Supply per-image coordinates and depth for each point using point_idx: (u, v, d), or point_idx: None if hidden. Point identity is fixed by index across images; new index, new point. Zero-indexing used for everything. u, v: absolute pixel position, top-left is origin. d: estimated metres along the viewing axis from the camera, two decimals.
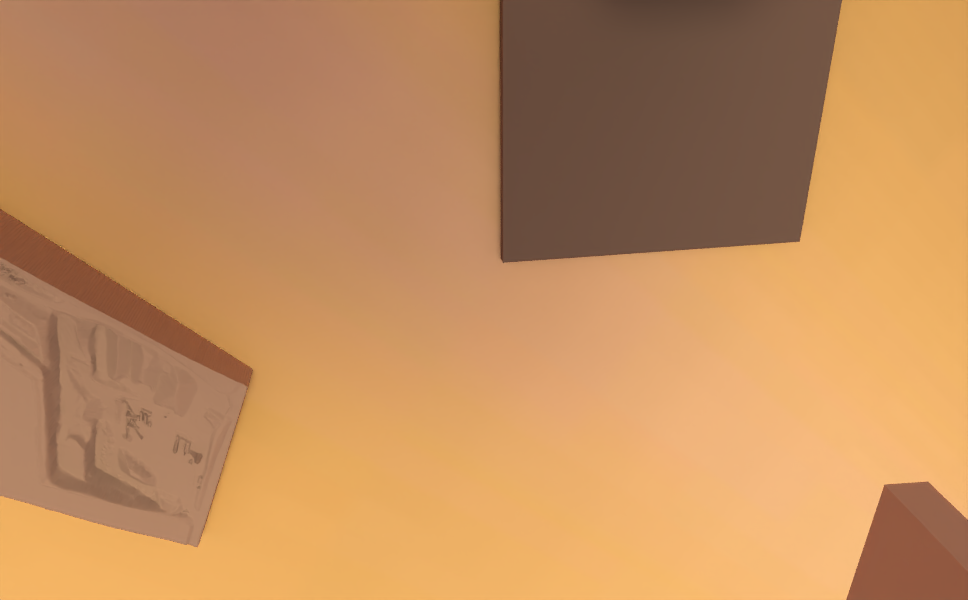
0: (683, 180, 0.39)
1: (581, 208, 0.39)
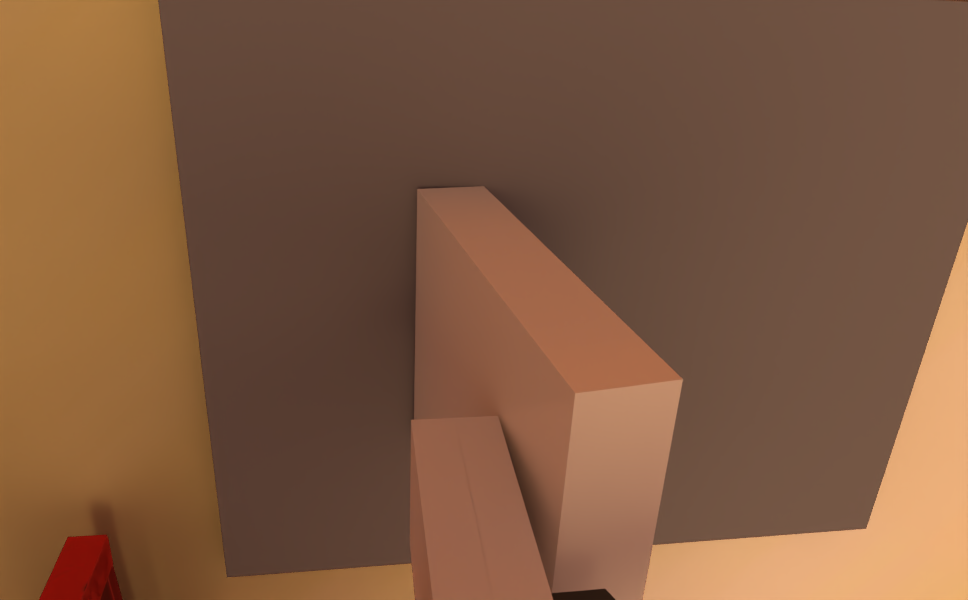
0: (826, 272, 0.21)
1: (819, 431, 0.23)
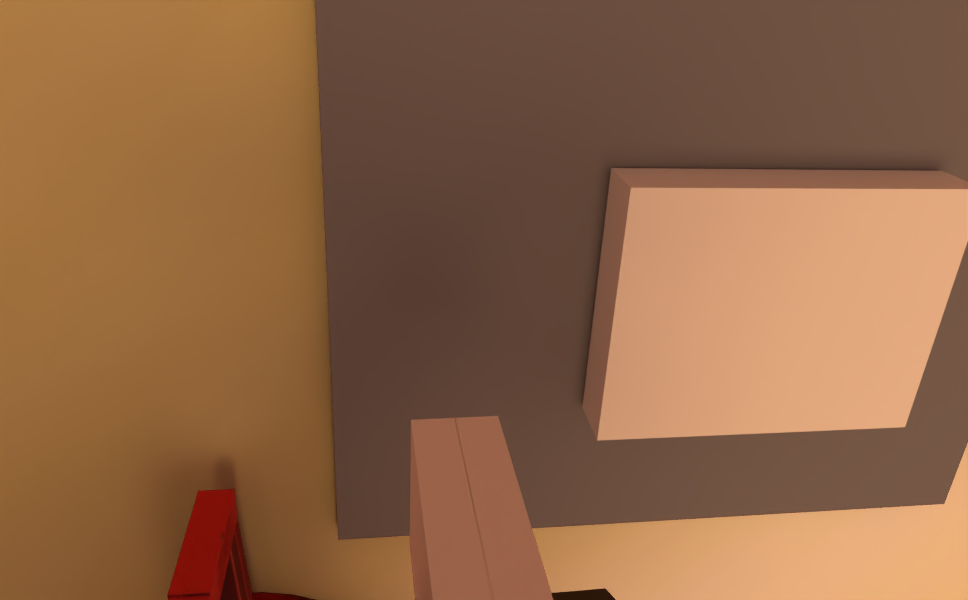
0: None
1: None
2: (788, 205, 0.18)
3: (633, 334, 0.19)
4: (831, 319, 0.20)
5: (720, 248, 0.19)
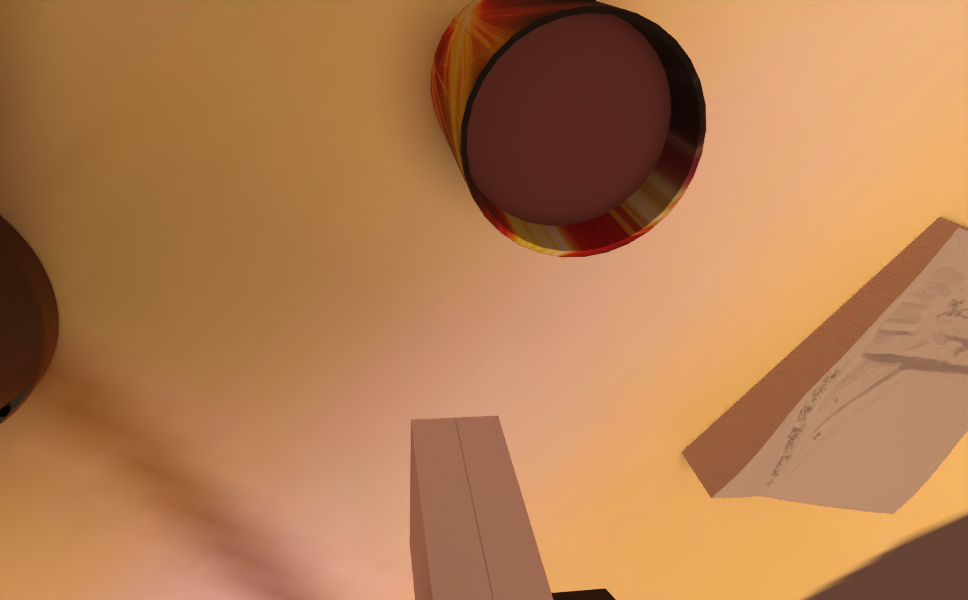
0: None
1: None
2: None
3: None
4: None
5: None
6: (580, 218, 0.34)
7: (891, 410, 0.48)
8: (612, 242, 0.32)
